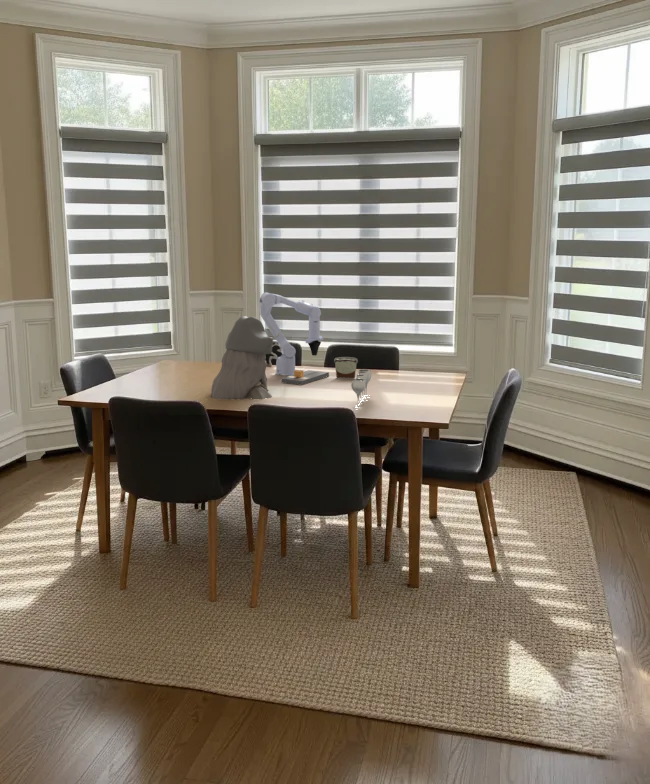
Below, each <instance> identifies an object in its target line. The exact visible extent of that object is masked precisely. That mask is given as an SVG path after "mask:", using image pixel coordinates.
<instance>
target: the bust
mask: <svg viewBox="0 0 650 784" xmlns="http://www.w3.org/2000/svg"><path fill="white" fill-rule="evenodd" d="M268 329H270V330H272V327H270V328H268ZM270 330H269V331H270ZM274 331H276V330H274ZM277 332H278V331H277ZM279 336H280V333H279V332H278V335H277V336H272V337H271V336H268V334H267V332H266V330H265V327H264V324H263V322H262V320H261V319H259V318H258V317H255V316H246V315H243V316H240V317H239V318H238V319H237V320H236V321H235V322H234V325H233V327H232V329H231V330H230V331H229V333H228V335H227V338H226V341H225V345H224V347H225V349H226V350H225V353H224V354H223V356H222V358H221V367H220V370H219V372H218V373H217V375H216V376H215V378H214V379H213V381H212V385H211V391H210V392H211V393H210V394H212V395H211V398H212V399H215V398H216V399H215V400H231V399H235V400H237V399H240V400H244V399H246V398H245V397H248V398H247V399H250V398H252V399H251V400H254V399H259V400H266V399H265V398H267V399H271V398H272V397H273V396H272V395H271V394H270V392H269V389H268V385H267V384H268V383H267V382H268V378H267V375H266V368H273V364H272V360H273V359H274V360H277V358H278V355H277V354H276V353H274V352H273V347H274V346H278V347H279V349H277V350H276V352H279V353H281V351H280V350H281V349H282V347H281V346H280V345H278V342H277V341H276V340H274V339H275V337H279ZM270 354H271V356H269V357H268V363H267V360H266V358H267V357H266V355H270ZM272 355H273V356H272Z"/></svg>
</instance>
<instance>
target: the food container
mask: <svg viewBox="0 0 650 784" xmlns="http://www.w3.org/2000/svg"><path fill="white" fill-rule="evenodd" d="M333 363H334V365H335V366H334V368H335V376H336V377H337V378H336V377H335V378H336V379H354V378H355V379H356V371H357V364H358V363H359V361H358V358H356V357H353V356H352V357H351V356H341V357H340V356H339V357H335V358H334V359H333Z"/></svg>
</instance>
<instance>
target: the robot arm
mask: <svg viewBox="0 0 650 784" xmlns="http://www.w3.org/2000/svg"><path fill="white" fill-rule="evenodd" d="M260 295H261V296H260V297H259V300H258V301H259V315H260V317H261V319H262V320H263V322H264V323H265V325H266V326H267V328H268V329H269V328H270V327H272V330H270V329H269V331H270V333H271V334H272V337H274V336H277V335H278V332H279V333H280V336H279V337H275V338H274V339H275V342H277V344H278V345H280V346H281V347H282V349H281V350H280V353H281V355H280V356H277V359H276V362H275V369H276V371H275V375H279V374H280V375H281V376H287V377H288V376H291V375H294V371H295V370H296V354H297V353H296V352H297V351H296V348H295V347H294V346H293V345H292V344H290V342H289V341H288V339H287V338H286V336H285V335H284V334H283V331H282V330H281V328H280V327H279V325H278V324H277V321H276V320H275V319H274V318H273V315H272V314H271V312H272V309H273V306H274V305H277V304H284V305H286V306H288V307H292V308H294V310H295V312H297V313H301V314H302V315H306V316H308V337H307V338H306V339H305V344H308V347H309V348H310V352H311V355H312V356H314V357H315V356H318V350H319V348H320V345H321V343H322V341H323V340H324V336H322V335H321V334H320V333H321V330H320V329H321V322H320V316H322V311H321V308H319V307H318V306H315V305H314V304H312V303H310V304H309V303H308V302H305V300H298V301H294V300H292V299H290V298H287V297H285V296H282V295H280V294H277V293H276V294H275V293H270V292H266V291H264V292H262V293H261V294H260ZM274 330H276V331H274ZM277 331H278V332H277ZM278 345H277V346H278Z"/></svg>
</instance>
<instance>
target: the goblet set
mask: <svg viewBox="0 0 650 784" xmlns="http://www.w3.org/2000/svg"><path fill="white" fill-rule="evenodd" d="M371 379H372V370H371V369H367V368H363V369H361V368H360V369H359V370H358V374H356V376H355V379H354V378H352V382H351V386H350V387H351V390H352V391H353V392H354V393H355V394H356V397H357V404H358V406H354V407H355V408H360V407H361V406H359V405H360V404H362V403H361V402H364V401H365V400H363V399H366V397H365V396H368V395H367V394H366V391H368V390H367V388H368V384H369V383H370V381H371ZM363 395H364V397H363ZM361 396H362V397H361ZM359 398H360V400H359ZM361 398H362V400H361ZM359 401H360V403H359Z"/></svg>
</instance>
